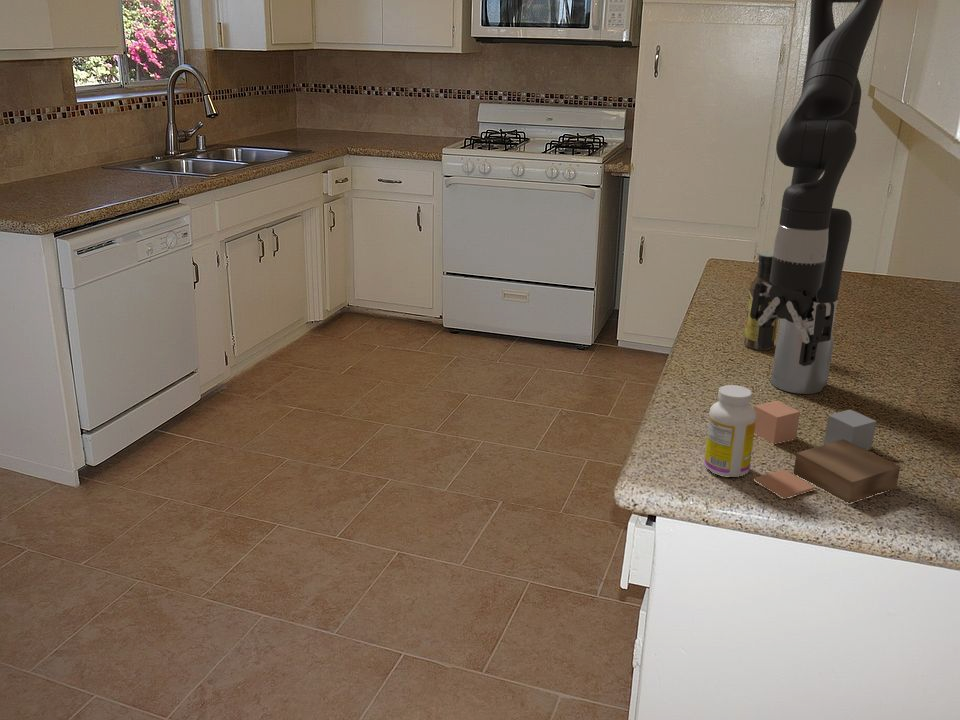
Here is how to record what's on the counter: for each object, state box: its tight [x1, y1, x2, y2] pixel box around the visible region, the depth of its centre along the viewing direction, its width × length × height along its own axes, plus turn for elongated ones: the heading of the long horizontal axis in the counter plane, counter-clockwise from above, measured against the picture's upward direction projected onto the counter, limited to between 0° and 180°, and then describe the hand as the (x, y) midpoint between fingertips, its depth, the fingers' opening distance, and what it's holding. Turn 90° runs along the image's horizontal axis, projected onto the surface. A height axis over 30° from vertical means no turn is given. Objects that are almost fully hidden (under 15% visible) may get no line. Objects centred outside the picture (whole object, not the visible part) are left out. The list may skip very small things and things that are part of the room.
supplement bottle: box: [703, 384, 756, 478], centre depth 129 cm, size 7×7×13 cm
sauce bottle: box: [743, 251, 779, 352], centre depth 179 cm, size 6×6×20 cm
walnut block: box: [792, 439, 901, 503], centre depth 128 cm, size 10×10×4 cm
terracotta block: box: [753, 399, 801, 444], centre depth 142 cm, size 5×5×5 cm
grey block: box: [823, 409, 877, 451], centre depth 138 cm, size 5×5×5 cm
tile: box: [753, 469, 816, 498], centre depth 127 cm, size 6×6×1 cm
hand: (784, 356), depth 137 cm, fingers open, 8 cm apart
